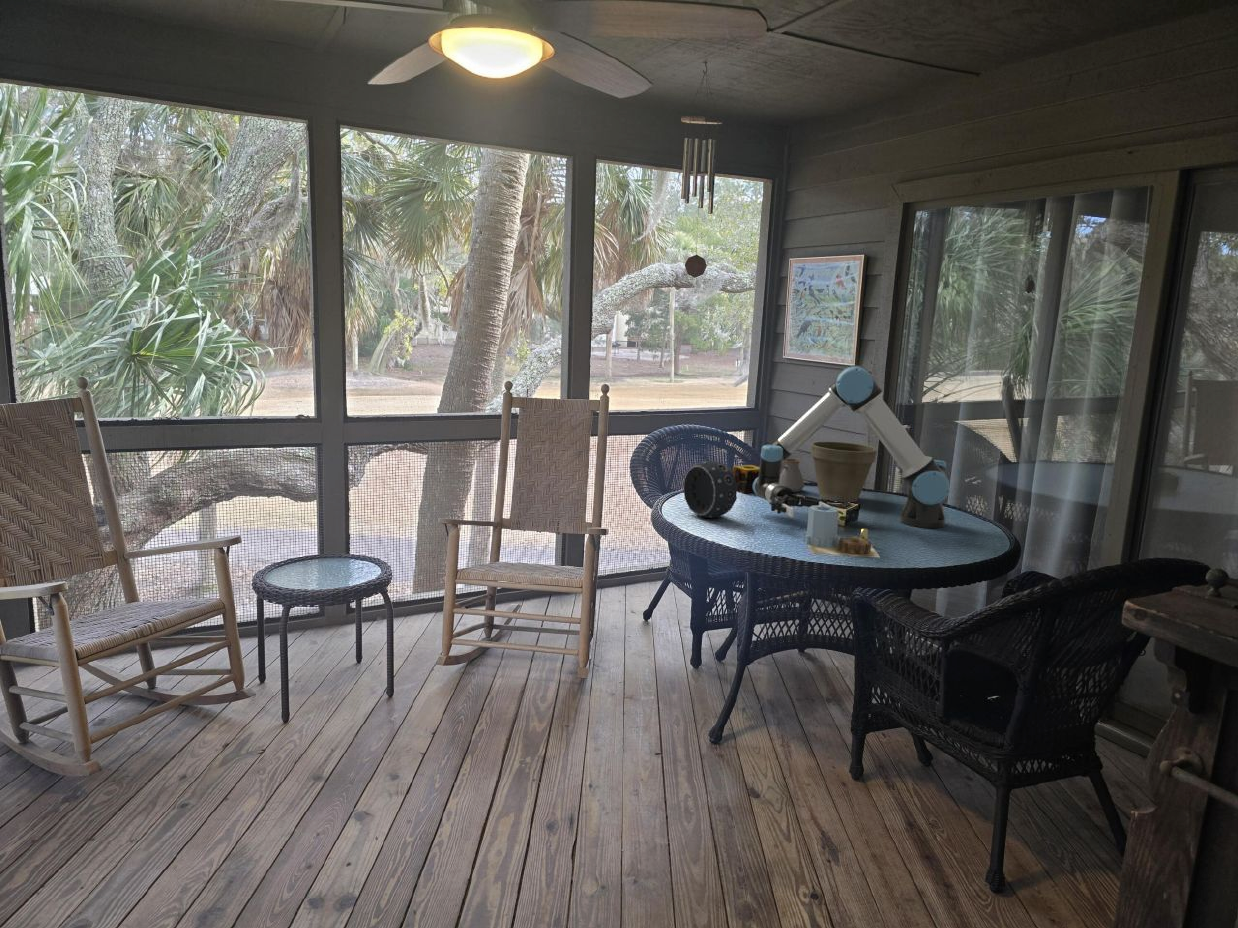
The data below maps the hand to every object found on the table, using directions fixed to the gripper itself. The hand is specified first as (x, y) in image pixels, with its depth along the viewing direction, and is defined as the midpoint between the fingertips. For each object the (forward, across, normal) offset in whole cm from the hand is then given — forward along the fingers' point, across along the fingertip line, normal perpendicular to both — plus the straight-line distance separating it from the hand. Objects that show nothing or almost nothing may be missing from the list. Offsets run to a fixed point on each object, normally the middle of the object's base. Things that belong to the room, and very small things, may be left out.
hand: (811, 511), depth 258 cm
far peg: (+14, -11, -8) cm, 19 cm away
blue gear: (+9, +1, -7) cm, 12 cm away
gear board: (+15, -2, -9) cm, 17 cm away
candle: (-71, -11, -11) cm, 72 cm away
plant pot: (-51, -42, -11) cm, 67 cm away
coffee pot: (-67, -25, -11) cm, 73 cm away
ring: (-32, +22, -10) cm, 40 cm away
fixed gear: (+19, -4, -7) cm, 21 cm away
